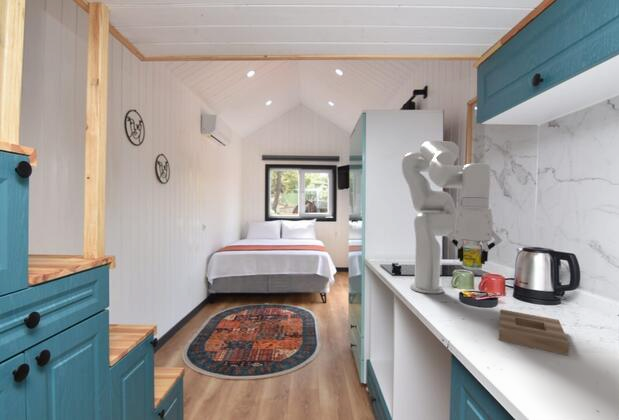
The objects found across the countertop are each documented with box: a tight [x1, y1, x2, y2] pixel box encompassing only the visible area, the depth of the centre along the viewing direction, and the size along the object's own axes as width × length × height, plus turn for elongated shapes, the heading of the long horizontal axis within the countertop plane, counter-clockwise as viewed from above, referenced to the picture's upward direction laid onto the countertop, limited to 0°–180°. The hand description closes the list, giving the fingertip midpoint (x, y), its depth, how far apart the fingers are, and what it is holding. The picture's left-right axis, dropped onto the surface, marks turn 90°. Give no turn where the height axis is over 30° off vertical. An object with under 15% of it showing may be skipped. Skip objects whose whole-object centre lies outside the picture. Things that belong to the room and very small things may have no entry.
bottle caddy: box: [498, 309, 570, 356], centre depth 83 cm, size 18×14×3 cm
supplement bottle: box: [461, 240, 484, 271], centre depth 95 cm, size 5×5×10 cm
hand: (472, 261), depth 95 cm, fingers closed on supplement bottle, 5 cm apart
